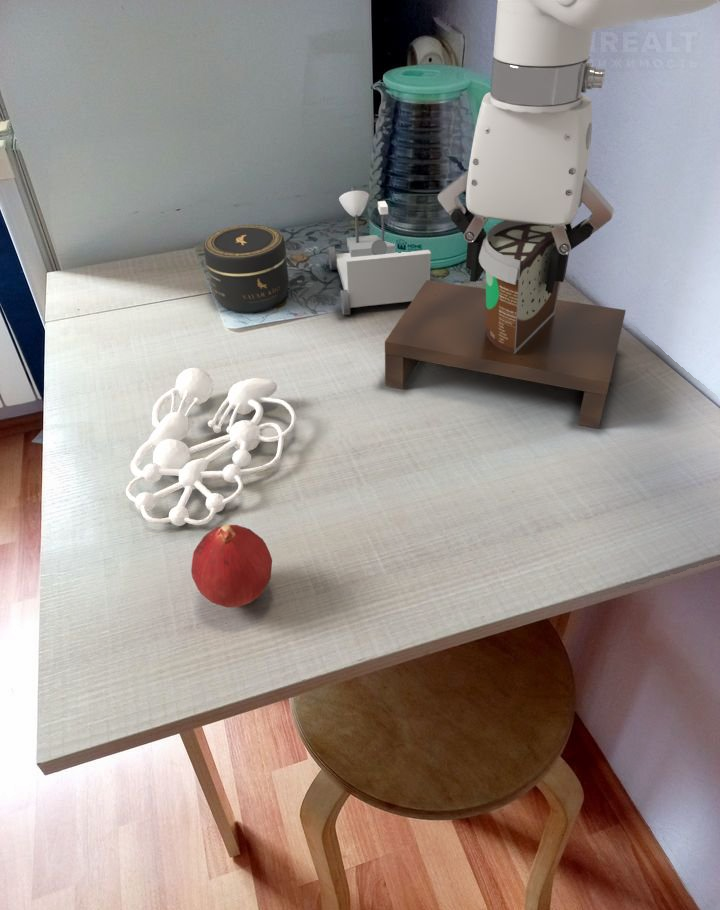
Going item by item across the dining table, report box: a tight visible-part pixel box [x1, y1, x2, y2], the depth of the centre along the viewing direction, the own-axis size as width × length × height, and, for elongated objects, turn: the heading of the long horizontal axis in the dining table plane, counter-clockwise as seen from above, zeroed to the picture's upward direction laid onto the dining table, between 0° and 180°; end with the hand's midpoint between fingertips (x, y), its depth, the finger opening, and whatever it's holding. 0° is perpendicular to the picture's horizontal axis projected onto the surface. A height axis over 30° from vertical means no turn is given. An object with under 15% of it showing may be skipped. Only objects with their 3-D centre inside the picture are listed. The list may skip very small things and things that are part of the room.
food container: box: [479, 220, 573, 354], centre depth 70 cm, size 12×6×10 cm, turn 144°
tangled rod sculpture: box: [125, 367, 297, 527], centre depth 66 cm, size 19×14×4 cm
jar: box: [203, 224, 289, 314], centre depth 88 cm, size 10×10×8 cm
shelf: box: [384, 279, 626, 429], centre depth 75 cm, size 22×14×6 cm, turn 68°
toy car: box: [327, 186, 432, 316], centre depth 90 cm, size 18×10×12 cm
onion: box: [190, 524, 273, 608], centre depth 52 cm, size 6×6×8 cm
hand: (513, 279), depth 69 cm, fingers closed on food container, 6 cm apart
